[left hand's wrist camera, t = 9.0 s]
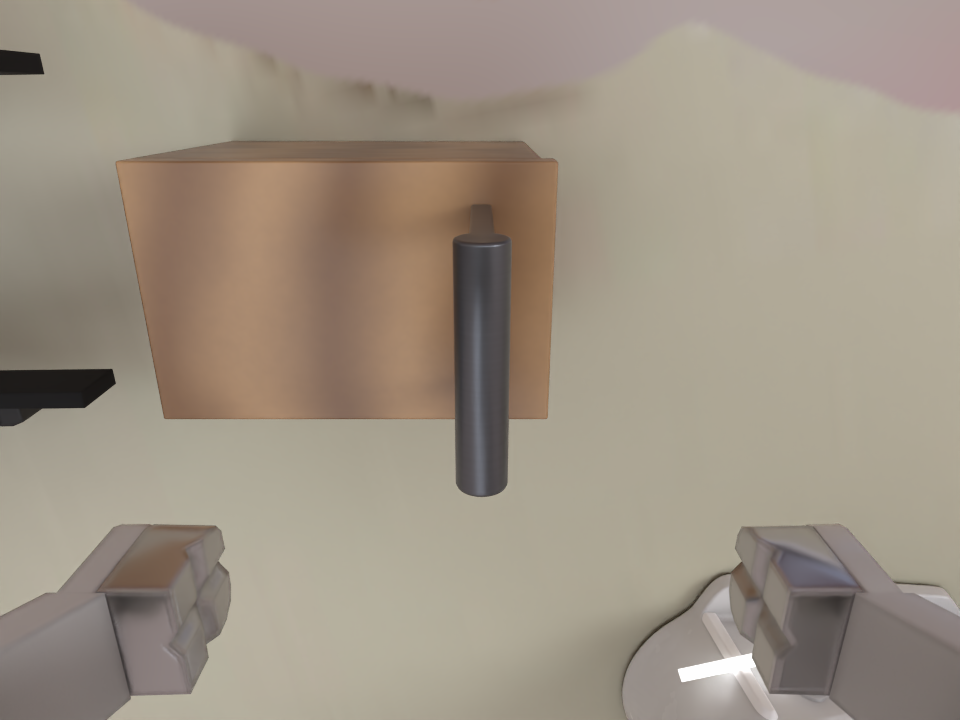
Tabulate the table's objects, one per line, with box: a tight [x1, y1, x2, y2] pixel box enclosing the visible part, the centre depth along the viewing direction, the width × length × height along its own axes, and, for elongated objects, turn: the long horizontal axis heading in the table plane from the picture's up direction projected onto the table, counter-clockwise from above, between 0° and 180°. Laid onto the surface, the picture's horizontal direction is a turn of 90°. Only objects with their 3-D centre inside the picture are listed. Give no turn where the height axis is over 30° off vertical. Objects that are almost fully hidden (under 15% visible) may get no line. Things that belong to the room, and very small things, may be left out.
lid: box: [116, 158, 558, 497], centre depth 21 cm, size 15×10×9 cm, turn 90°
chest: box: [137, 141, 541, 159], centre depth 30 cm, size 14×10×10 cm, turn 90°
